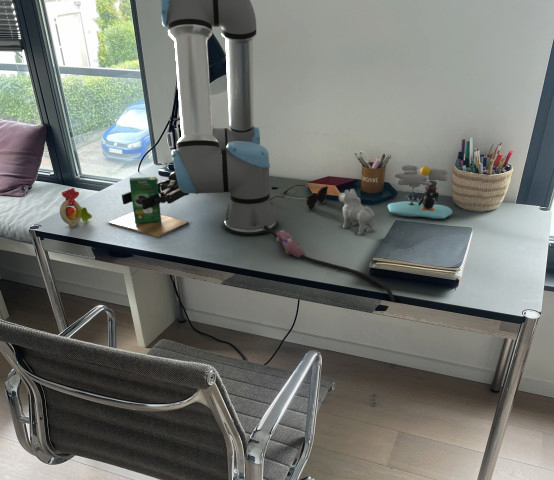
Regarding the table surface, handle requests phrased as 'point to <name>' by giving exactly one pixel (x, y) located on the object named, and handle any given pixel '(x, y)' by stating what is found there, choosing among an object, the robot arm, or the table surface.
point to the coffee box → (143, 190)
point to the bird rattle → (70, 213)
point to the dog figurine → (356, 211)
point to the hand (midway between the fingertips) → (133, 202)
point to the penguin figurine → (428, 205)
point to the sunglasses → (311, 196)
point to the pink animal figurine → (289, 244)
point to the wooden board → (150, 225)
